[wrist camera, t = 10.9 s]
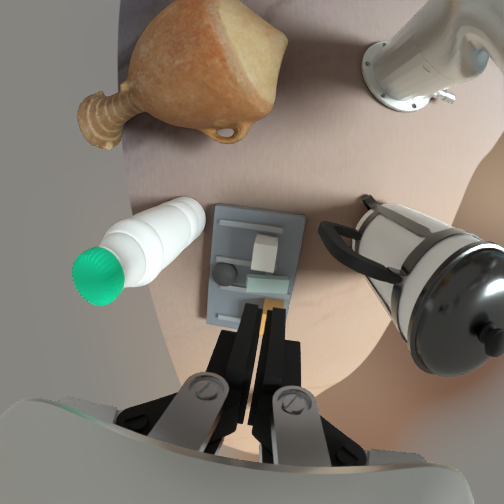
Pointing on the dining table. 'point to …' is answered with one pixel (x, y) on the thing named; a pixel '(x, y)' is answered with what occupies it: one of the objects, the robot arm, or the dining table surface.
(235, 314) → the panel
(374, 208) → the coffee press
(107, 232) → the water bottle
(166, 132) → the dining table surface
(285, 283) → the block
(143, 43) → the jug
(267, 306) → the orange fader
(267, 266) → the ivory fader
